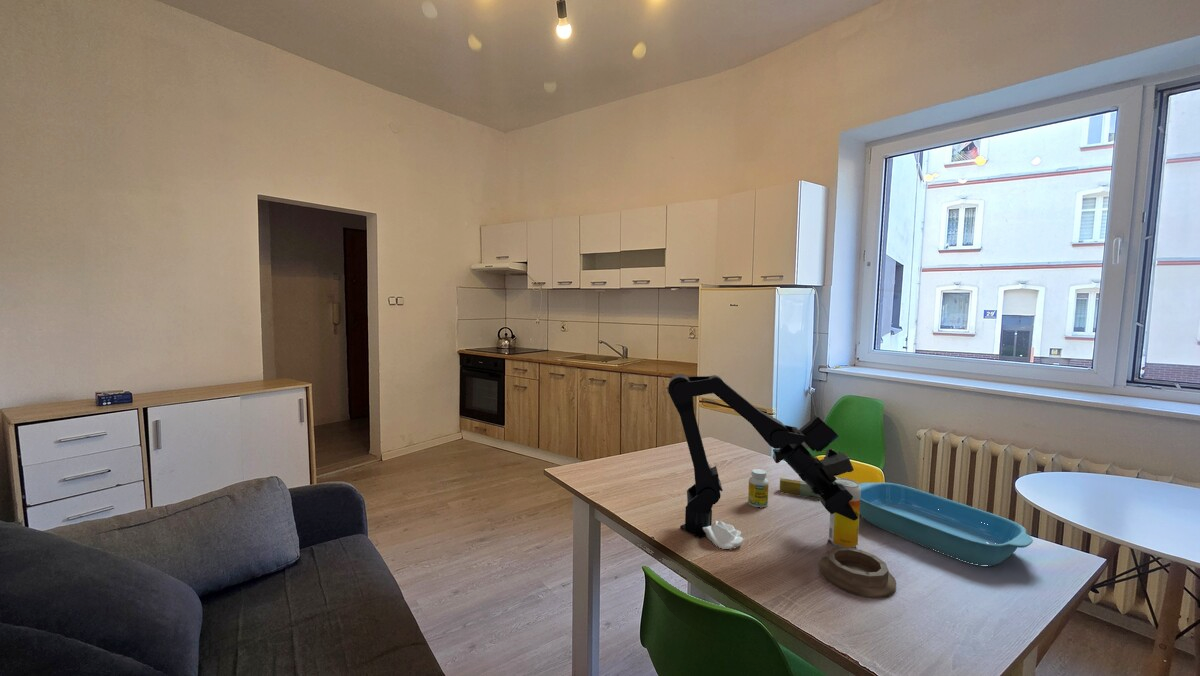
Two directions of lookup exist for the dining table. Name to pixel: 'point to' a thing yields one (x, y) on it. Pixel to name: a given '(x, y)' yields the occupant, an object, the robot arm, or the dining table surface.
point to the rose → (723, 535)
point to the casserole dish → (941, 523)
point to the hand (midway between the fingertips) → (851, 513)
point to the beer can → (841, 527)
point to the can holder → (857, 573)
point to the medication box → (797, 488)
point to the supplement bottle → (758, 489)
